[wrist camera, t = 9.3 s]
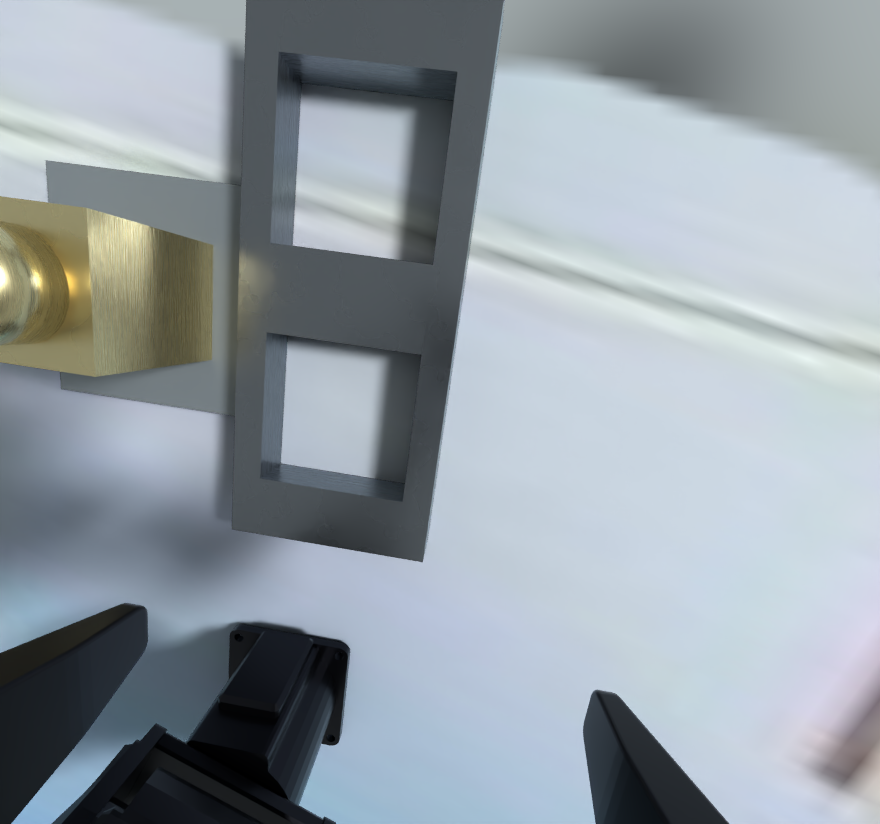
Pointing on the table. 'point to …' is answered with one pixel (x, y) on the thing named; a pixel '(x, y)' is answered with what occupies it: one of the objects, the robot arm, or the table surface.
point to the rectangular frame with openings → (350, 255)
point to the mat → (183, 213)
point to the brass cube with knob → (100, 291)
